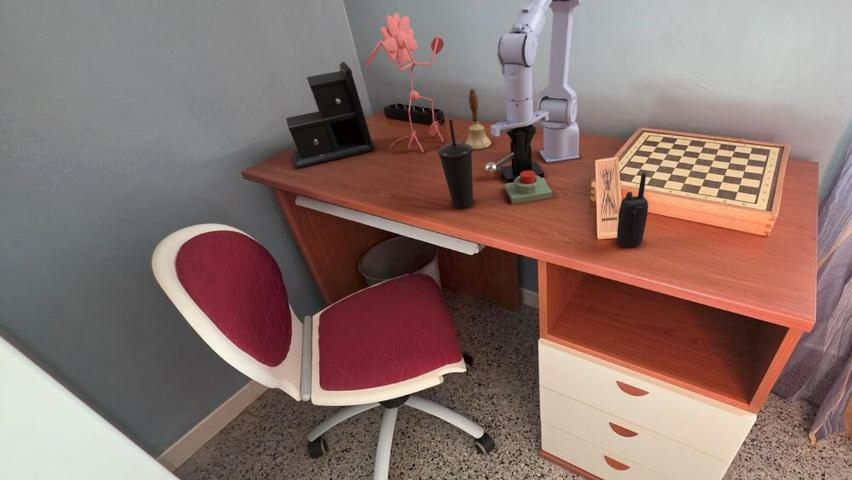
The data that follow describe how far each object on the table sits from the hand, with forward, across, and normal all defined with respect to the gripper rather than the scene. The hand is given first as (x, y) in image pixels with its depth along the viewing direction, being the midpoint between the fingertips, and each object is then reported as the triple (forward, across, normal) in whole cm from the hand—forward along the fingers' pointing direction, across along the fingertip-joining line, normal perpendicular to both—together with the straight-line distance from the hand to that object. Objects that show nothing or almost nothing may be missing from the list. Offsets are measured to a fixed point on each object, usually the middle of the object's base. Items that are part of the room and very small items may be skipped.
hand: (522, 158), depth 100 cm
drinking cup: (+9, +15, -4) cm, 18 cm away
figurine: (+9, +6, -49) cm, 50 cm away
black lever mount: (+9, -5, -8) cm, 13 cm away
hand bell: (+9, -7, -34) cm, 36 cm away
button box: (+9, 0, +2) cm, 9 cm away
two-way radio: (+9, -3, +33) cm, 34 cm away
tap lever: (+6, -2, -10) cm, 11 cm away
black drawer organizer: (+9, +30, -59) cm, 67 cm away
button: (+5, 0, +2) cm, 6 cm away
